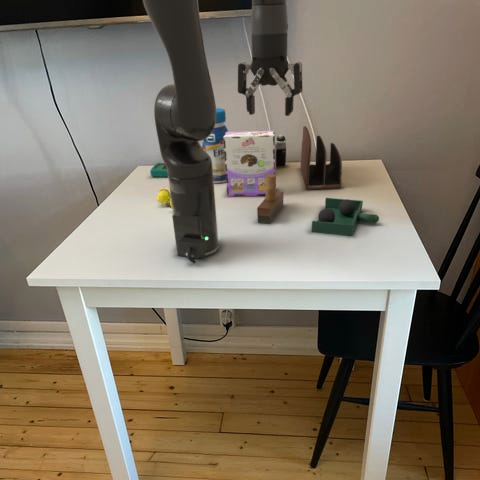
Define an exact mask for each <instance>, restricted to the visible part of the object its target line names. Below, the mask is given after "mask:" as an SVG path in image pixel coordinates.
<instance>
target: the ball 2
mask: <svg viewBox="0 0 480 480" xmlns="http://www.w3.org/2000/svg"><path fill="white" fill-rule="evenodd" d="M345 199H346V198H345ZM352 200H353V199H346V200H343V201H342V202H341V203H340V205H339V211H340V213H341V214H342V215H344V216H349V215H351V214H353V212H354V211H355V204H354V202H353V201H352Z"/></svg>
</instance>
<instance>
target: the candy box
mask: <svg viewBox="0 0 480 480" xmlns="http://www.w3.org/2000/svg"><path fill="white" fill-rule="evenodd" d="M275 138H276V130H274V129H273V130H247V131H228V132H226V133H225V135H224V137H223V142H224V155H225V169H226V182H225V183H226V196H227V197H253V196H254V197H262V196H263V197H266V185H265V176H266V175H267V174H275V175H276V176H277V168H276V148H275Z"/></svg>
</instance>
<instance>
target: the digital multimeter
mask: <svg viewBox="0 0 480 480" xmlns="http://www.w3.org/2000/svg"><path fill="white" fill-rule="evenodd" d="M149 173H150V177H152V178H168V172H167V167H166V165H165V163H164V162H157V163H155V164H154V165H153V166H152V168H151V169H150V170H149Z"/></svg>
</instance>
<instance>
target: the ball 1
mask: <svg viewBox="0 0 480 480" xmlns="http://www.w3.org/2000/svg"><path fill="white" fill-rule="evenodd" d="M318 219H319V221H320V222H331V223H333V222H334V220H335V213H334V212H333V210H331V209H328V208H326V209H324V208H323V209H321V210H320V211H319V213H318V216H317V220H318Z"/></svg>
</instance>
